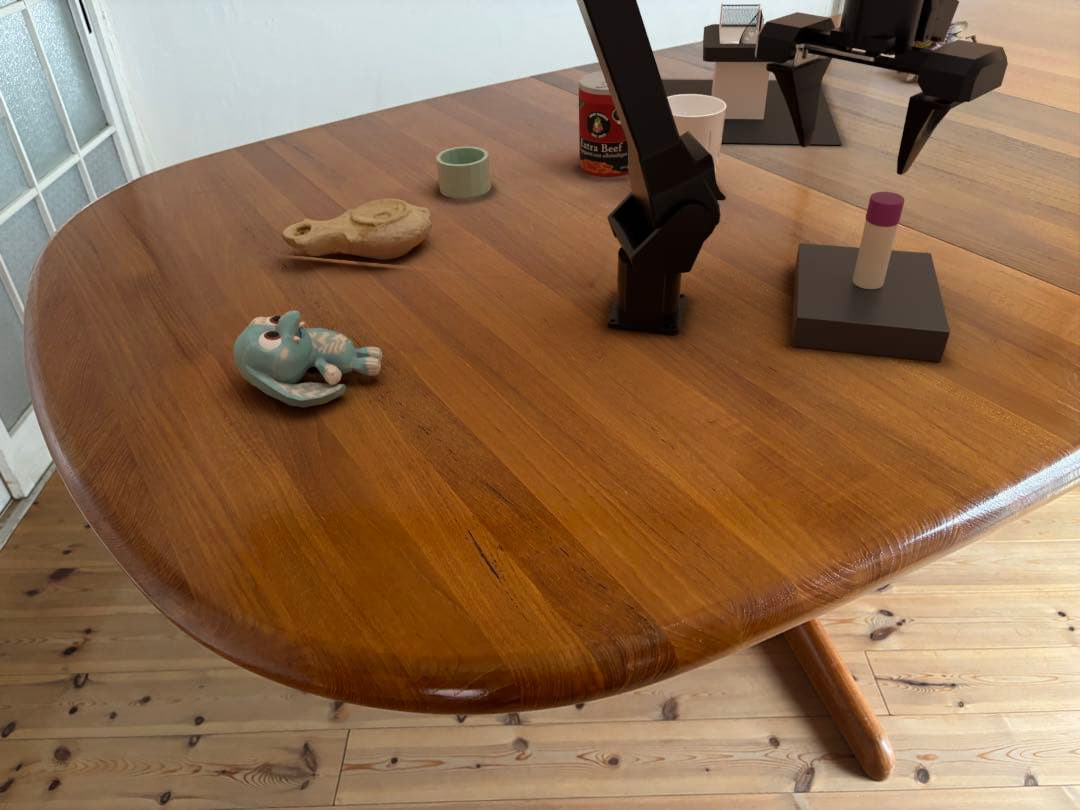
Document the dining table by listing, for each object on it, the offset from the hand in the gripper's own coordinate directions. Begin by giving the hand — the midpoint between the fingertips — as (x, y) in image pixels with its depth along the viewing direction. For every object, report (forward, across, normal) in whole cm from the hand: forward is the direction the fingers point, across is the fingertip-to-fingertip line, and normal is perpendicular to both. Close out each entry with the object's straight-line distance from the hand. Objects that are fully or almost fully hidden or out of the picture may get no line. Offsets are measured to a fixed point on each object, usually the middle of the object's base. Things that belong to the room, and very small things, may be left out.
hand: (851, 159), depth 70 cm
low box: (+13, -4, +1) cm, 14 cm away
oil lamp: (+13, +38, +27) cm, 49 cm away
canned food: (+13, +36, -8) cm, 39 cm away
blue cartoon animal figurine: (+13, +22, +42) cm, 50 cm away
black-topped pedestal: (+13, +38, -37) cm, 55 cm away
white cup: (+13, +25, -9) cm, 30 cm away
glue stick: (+10, -4, +1) cm, 11 cm away
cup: (+13, +44, +9) cm, 47 cm away
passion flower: (+13, +26, -69) cm, 75 cm away
